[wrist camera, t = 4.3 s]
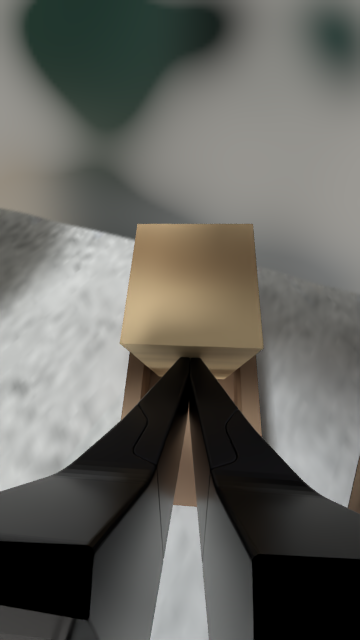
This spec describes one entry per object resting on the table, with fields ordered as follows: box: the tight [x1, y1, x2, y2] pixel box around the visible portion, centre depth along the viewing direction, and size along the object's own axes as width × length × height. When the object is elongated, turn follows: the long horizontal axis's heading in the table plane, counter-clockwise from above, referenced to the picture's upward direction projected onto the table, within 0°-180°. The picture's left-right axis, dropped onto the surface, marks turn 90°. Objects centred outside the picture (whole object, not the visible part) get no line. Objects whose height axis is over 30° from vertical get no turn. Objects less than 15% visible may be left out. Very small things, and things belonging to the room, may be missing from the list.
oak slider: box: [120, 224, 263, 379], centre depth 12 cm, size 5×5×9 cm
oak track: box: [121, 352, 262, 507], centre depth 15 cm, size 15×8×5 cm, turn 177°
